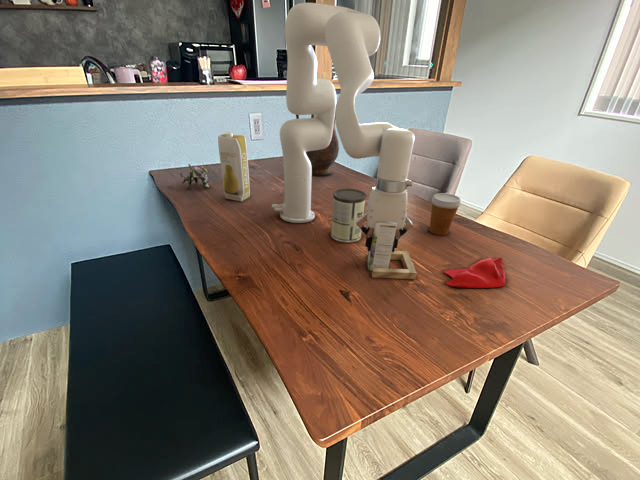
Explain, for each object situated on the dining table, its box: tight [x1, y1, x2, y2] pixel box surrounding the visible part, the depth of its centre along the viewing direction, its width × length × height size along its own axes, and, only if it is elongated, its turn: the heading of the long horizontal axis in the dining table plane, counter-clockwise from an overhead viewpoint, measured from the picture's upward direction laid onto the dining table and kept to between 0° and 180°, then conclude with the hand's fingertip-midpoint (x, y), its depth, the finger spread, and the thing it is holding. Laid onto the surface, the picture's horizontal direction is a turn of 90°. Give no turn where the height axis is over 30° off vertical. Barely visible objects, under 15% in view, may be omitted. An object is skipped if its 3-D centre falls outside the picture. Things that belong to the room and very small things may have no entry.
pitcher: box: [295, 103, 340, 177], centre depth 168 cm, size 17×21×30 cm
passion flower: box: [179, 163, 210, 189], centre depth 151 cm, size 11×11×12 cm
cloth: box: [443, 257, 506, 289], centre depth 103 cm, size 26×14×2 cm, turn 120°
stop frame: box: [367, 250, 418, 280], centre depth 105 cm, size 12×13×2 cm
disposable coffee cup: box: [428, 192, 462, 236], centre depth 124 cm, size 10×10×12 cm
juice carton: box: [217, 131, 251, 202], centre depth 139 cm, size 9×8×24 cm
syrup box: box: [367, 222, 397, 271], centre depth 101 cm, size 6×6×14 cm
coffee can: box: [330, 188, 367, 243], centre depth 117 cm, size 10×10×14 cm
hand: (380, 249), depth 102 cm, fingers closed on syrup box, 5 cm apart
